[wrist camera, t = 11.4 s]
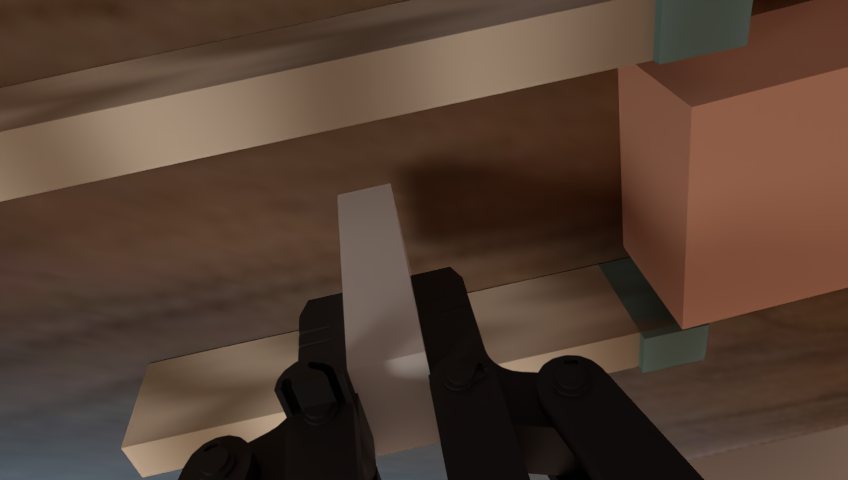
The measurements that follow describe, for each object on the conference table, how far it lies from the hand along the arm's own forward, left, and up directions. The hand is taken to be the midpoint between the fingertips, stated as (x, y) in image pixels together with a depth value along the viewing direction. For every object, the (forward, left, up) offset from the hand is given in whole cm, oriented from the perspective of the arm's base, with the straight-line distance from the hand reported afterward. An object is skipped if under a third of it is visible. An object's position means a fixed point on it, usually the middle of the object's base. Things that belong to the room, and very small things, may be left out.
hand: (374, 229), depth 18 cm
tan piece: (0, 0, -2) cm, 2 cm away
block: (+13, 0, -2) cm, 13 cm away
